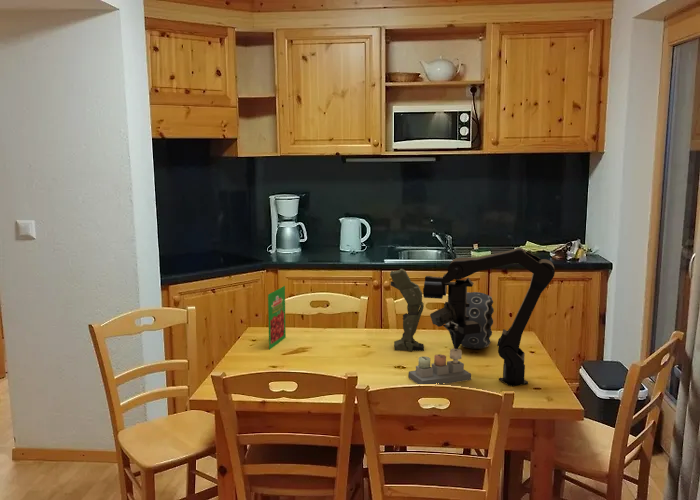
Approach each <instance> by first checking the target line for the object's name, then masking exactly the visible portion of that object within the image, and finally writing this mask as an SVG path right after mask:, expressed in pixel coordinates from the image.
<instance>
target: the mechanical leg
mask: <svg viewBox="0 0 700 500" xmlns="http://www.w3.org/2000/svg"><path fill="white" fill-rule="evenodd" d="M389 276H390V278H391V279H392V281H390V286H391V287H392V288H395V289H396V290H398V291H399V292H400V294H401V295H402V297H403V299H404V301H405V302H406V303H407V306H406V309H407V313H404V314H403V315H402V329H403V332H402V337H400V339H397V340H394V342H393V349H394V351H400V352H401V351H405V352H408V351H409V352H425V346H424V343H421V342H419V341H416V340H415V338H414V336H415V334H416V332H417V329H418V327H419V322H420V319H421V316H422V314H423V311H424V306H425V304H424V302H423V291H422V290H421V287H420V286H419V284H417V283H415V282H413V281H411V280H412V279H410V276H409V274H408V273H407V271H406V270H405V269H404V268H400V269H399V270H391V271H390V272H389Z"/></svg>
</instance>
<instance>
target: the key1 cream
mask: <svg viewBox="0 0 700 500" xmlns="http://www.w3.org/2000/svg"><path fill="white" fill-rule="evenodd" d="M462 353H463V351H462V349H460V348H458V349H455V348H450V349H449V359H450V360H452V361H453V364H458V361H459V360H461V359H462V355H463V354H462Z"/></svg>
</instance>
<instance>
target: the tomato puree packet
mask: <svg viewBox="0 0 700 500" xmlns="http://www.w3.org/2000/svg"><path fill="white" fill-rule="evenodd" d="M267 304H268V305H267V308H268V309H267V313H268V350H271V349H273V348H274V347H276V345H279V344H280V342H282V341H283V340H285V339H286V338H287V337H286V336H287V335H286V286H285V285H283V286H282V287H280V288H278V289H276V290H274V291H273V292H270V293H269V294H267Z"/></svg>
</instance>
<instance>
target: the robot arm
mask: <svg viewBox="0 0 700 500" xmlns="http://www.w3.org/2000/svg"><path fill="white" fill-rule="evenodd" d="M513 264H519V265H520V266H522V267H523V268H525V269H526V270H527V271H529V272H530V273H532V275H531V278H530V279H531V280H530V284H529V287H528V289H527V292H526V293H525V295H524V297H523V301H522V303H520V307H519V309H518V310H517V313H516V315H515V318H514V320H513V322H512V324H511V326H510V327H509V328H508V330H507V329H505V328H503V329H502V333H501V336H500V337H499V338H498V340H497V353H498V355H499V357H500V358H501V359H503V367H502V368H503V369H502V371H503V372H502V377H498V380H499V381H500V382H502V383H504V384H506V385H508V386H509V387H517V386H518V387H519V386H523V385H529V381H528V380H526V379H525V376H526V375H525V373H526V364H525V354H526V353H525V352H524V351H523V350H522V348H520V345H521V339H522V338H523V337H522V336H523V332H524V331H525V329H526V326H527V325H528V322H529V320H530V318H531V316H532V314H533V312H534V309H535V308H536V305H537V303H538V301H539V298H540V297H541V294H542V293H543V292H544V291H545V289H546V288H547V287H548V286H549V285H550V283H551V282H552V280H553V279H554V277H555V271H556V270H555V266H554V263H553V262H552V261H551V260H549V259H547V258H543V259H541V258H540V257H539V256H536V255H534V254H532V253H531V252H528V251H526V250H525V249H524V248H522V247H516V248H514V249H511V250H507V251H501V252H497V253H492V254H488V255H484V256H483V255H482V256H479V257H456V258H454V259H452V261H451V262H450V263H449V265H447V272H446V273H444V274H443V276H431V275H425V277H424V284H423V288H422V297H423V298H424V299H438V300H439V299H442V300H443V297H446V295H447V301H445V302H444V306H443V307H442V308H439V309H437V310H435V311H433V312H431V313H430V314H429V316H430V319H431V323H432V325H435V326H437V327H442V326H443V327H444V328H445V329H446V330H447V331H448V333H449V335H450V338H451V342H452V346H453V349H460V346H461V342H462V341H463V339H464V337H465V335H466V334H474V333H481V325H480V324H479V323H477V322H475V321H465V320H469V316H466V308H467V307H469V303H467V292H468V288H469V287H470V288H472V287H473V286H474V282H473V281H472V280H471V279H470V278H469V276H471V275H473V274H475V273H477V272H482V271H484V270H490V269H494V268H499V267H504V266H508V265H513ZM464 278H466V279H464ZM454 280H455V281H454Z"/></svg>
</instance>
